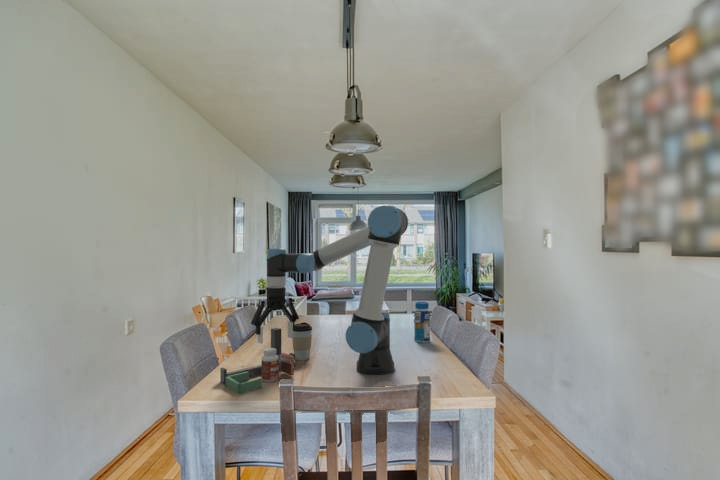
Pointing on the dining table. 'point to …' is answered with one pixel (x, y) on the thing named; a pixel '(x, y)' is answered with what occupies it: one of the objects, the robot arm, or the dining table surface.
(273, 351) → the pill bottle
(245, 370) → the rail
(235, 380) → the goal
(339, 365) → the dining table surface
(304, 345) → the coffee cup
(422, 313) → the beverage bottle
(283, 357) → the kicker
